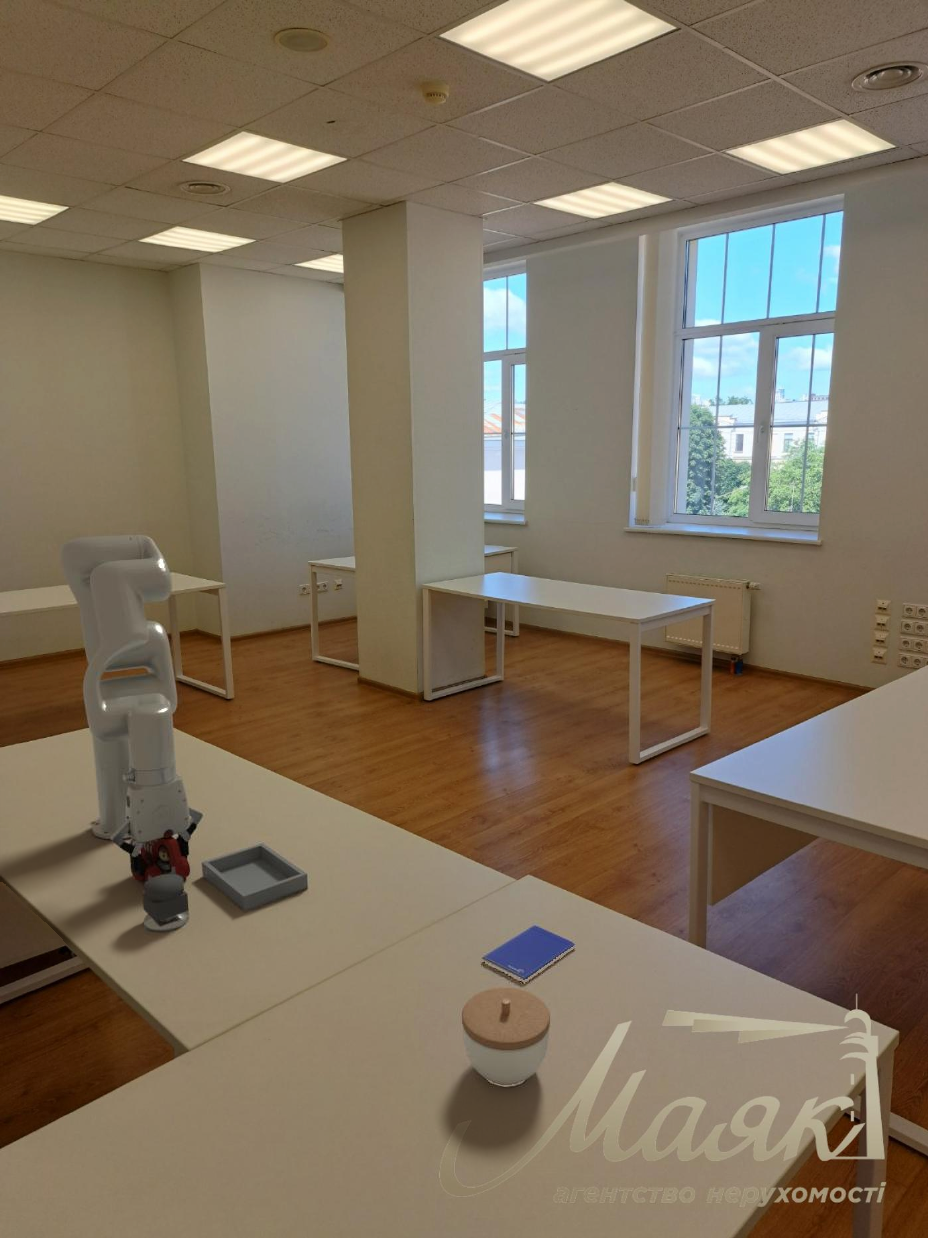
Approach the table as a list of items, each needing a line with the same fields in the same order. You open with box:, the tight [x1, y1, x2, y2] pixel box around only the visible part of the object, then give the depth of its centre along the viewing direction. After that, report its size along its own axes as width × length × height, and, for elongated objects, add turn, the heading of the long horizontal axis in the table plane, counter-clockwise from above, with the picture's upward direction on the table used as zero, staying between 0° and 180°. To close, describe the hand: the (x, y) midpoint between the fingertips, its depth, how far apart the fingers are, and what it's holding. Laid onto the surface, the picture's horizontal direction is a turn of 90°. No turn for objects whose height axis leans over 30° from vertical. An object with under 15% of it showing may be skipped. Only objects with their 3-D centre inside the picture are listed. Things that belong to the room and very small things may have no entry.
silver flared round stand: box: [143, 911, 190, 933], centre depth 140 cm, size 7×7×5 cm
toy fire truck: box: [130, 829, 191, 883], centre depth 154 cm, size 7×12×10 cm, turn 49°
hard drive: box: [481, 925, 576, 980], centre depth 130 cm, size 2×8×12 cm
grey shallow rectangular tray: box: [201, 842, 309, 913], centre depth 153 cm, size 17×12×3 cm
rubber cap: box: [141, 874, 189, 922], centre depth 139 cm, size 6×6×5 cm
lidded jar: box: [461, 987, 551, 1085], centre depth 104 cm, size 11×11×9 cm
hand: (160, 866), depth 154 cm, fingers closed on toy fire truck, 7 cm apart
